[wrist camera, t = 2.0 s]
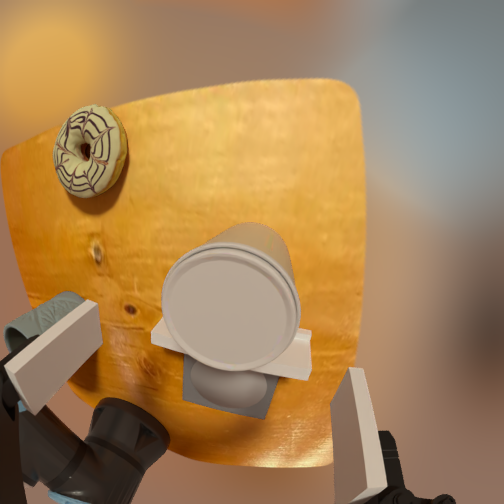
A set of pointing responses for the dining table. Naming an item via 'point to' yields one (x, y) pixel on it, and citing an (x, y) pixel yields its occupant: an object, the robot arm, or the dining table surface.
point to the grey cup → (40, 319)
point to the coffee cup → (233, 299)
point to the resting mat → (228, 388)
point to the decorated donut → (101, 153)
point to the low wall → (286, 364)
